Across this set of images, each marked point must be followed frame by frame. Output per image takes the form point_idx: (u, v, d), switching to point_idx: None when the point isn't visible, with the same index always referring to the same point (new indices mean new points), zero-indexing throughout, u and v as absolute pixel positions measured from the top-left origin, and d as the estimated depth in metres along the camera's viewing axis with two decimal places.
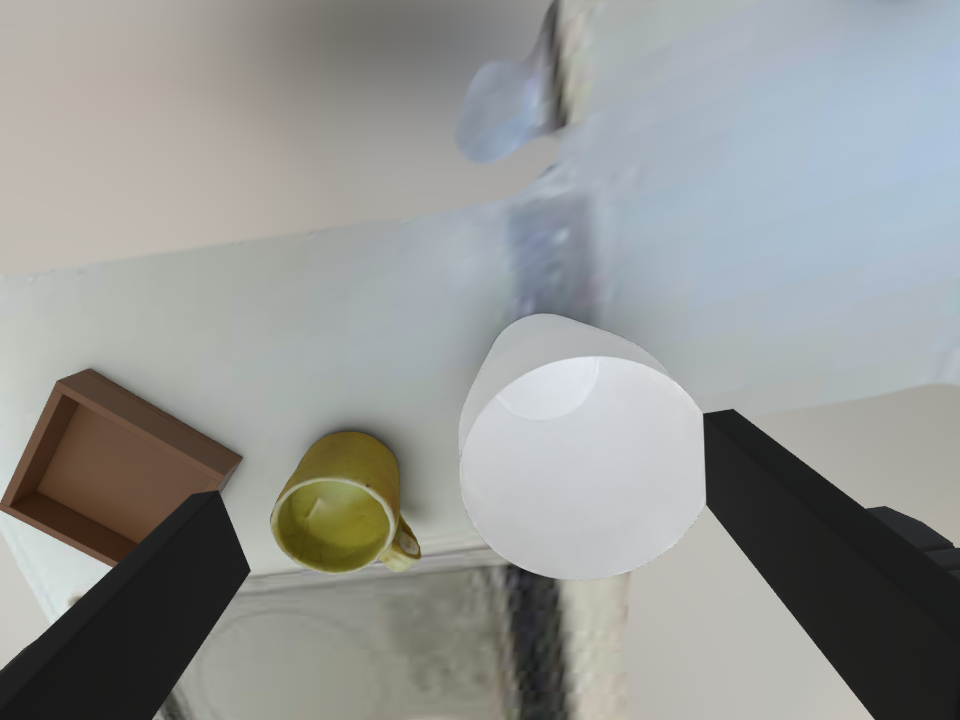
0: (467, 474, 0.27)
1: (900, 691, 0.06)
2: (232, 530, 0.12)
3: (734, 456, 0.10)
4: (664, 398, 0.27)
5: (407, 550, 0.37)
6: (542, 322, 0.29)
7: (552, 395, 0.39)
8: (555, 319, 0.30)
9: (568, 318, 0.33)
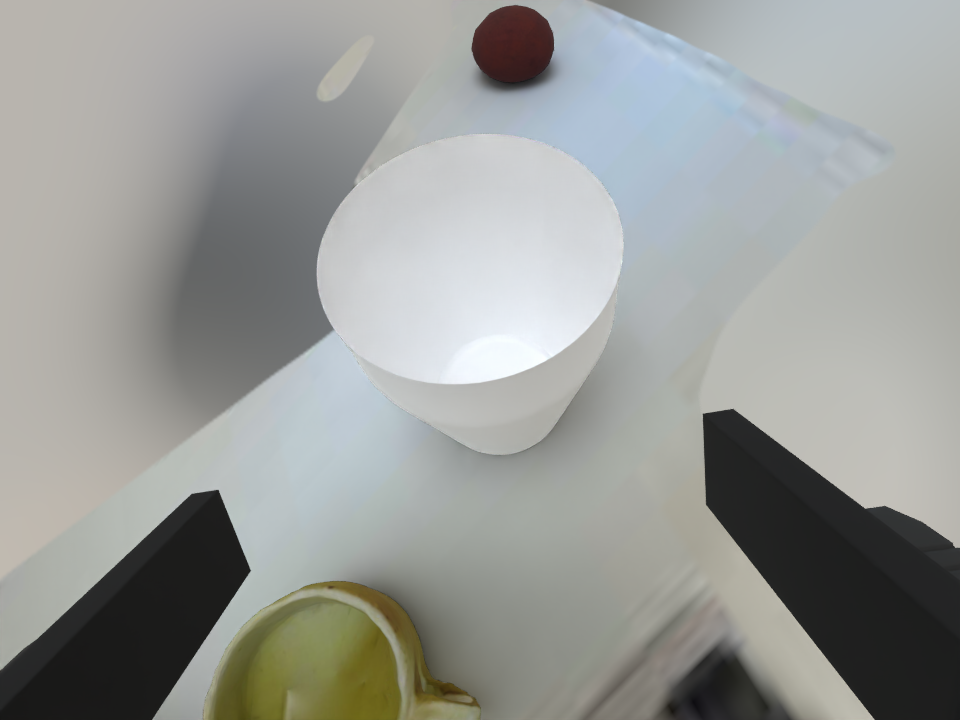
0: (394, 403, 0.20)
1: (900, 691, 0.06)
2: (232, 530, 0.12)
3: (734, 456, 0.10)
4: (557, 243, 0.25)
5: None
6: (425, 290, 0.29)
7: None
8: (442, 292, 0.30)
9: (471, 309, 0.32)
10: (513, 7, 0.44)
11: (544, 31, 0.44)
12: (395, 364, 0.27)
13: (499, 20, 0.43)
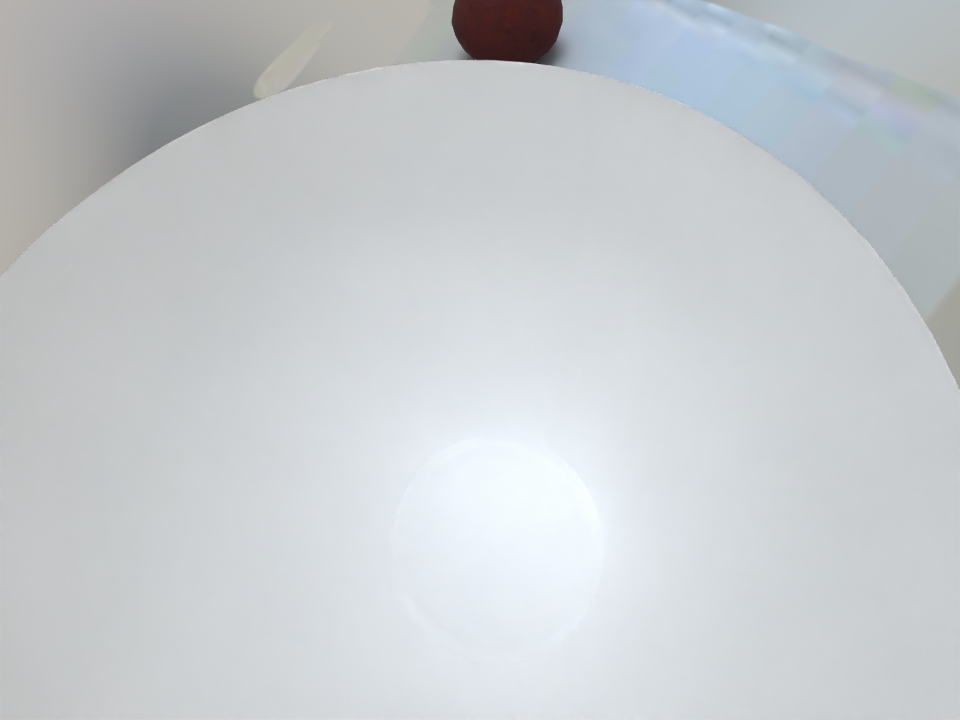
0: None
1: None
2: None
3: None
4: (603, 313, 0.12)
5: None
6: (355, 389, 0.16)
7: (545, 577, 0.19)
8: (389, 387, 0.17)
9: (444, 405, 0.19)
10: None
11: None
12: (288, 543, 0.14)
13: None
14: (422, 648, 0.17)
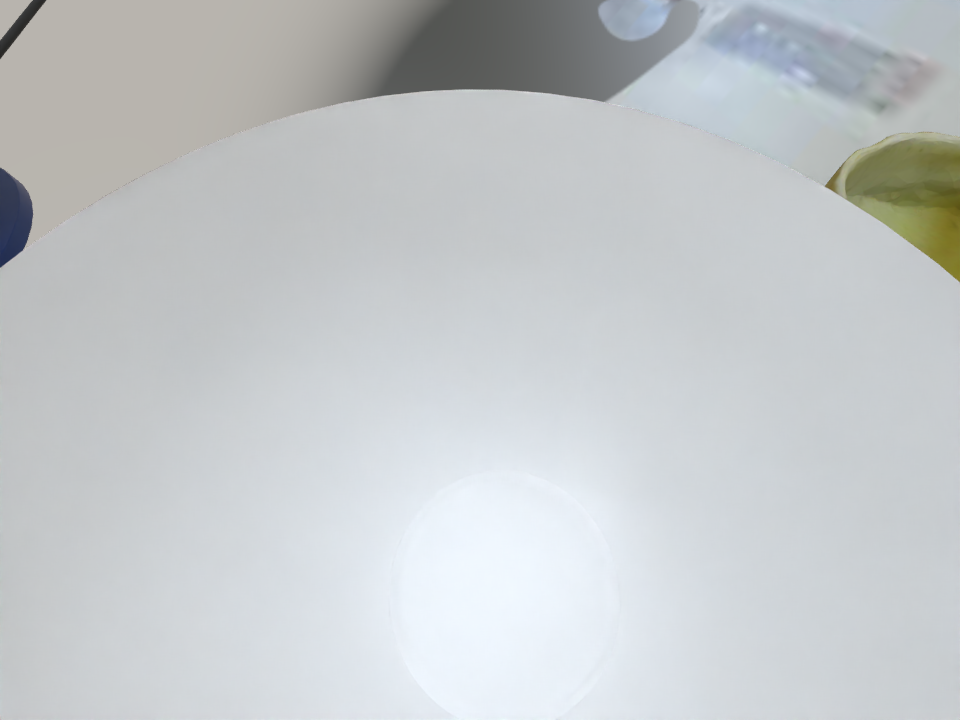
0: None
1: None
2: None
3: None
4: (629, 365, 0.11)
5: None
6: (350, 437, 0.14)
7: (557, 631, 0.18)
8: (388, 431, 0.15)
9: (447, 445, 0.18)
10: None
11: None
12: (273, 616, 0.12)
13: None
14: (423, 715, 0.16)
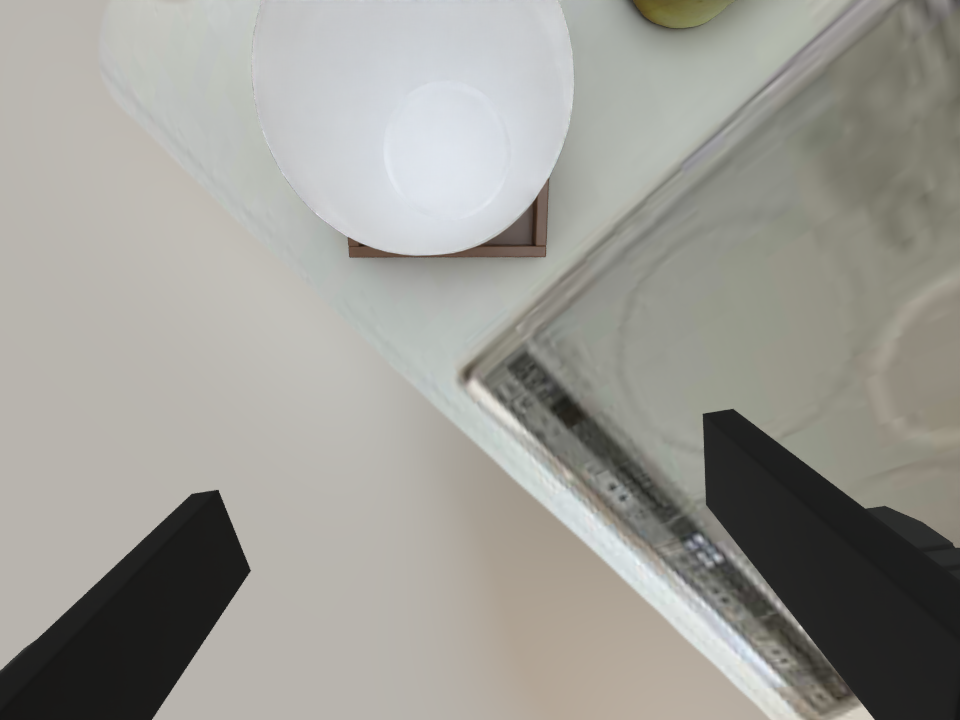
0: (364, 235, 0.23)
1: (900, 691, 0.06)
2: (232, 530, 0.12)
3: (734, 456, 0.10)
4: (508, 13, 0.22)
5: None
6: (358, 58, 0.25)
7: (477, 175, 0.34)
8: (376, 53, 0.26)
9: (409, 62, 0.28)
10: None
11: None
12: (344, 157, 0.27)
13: None
14: (413, 213, 0.33)
